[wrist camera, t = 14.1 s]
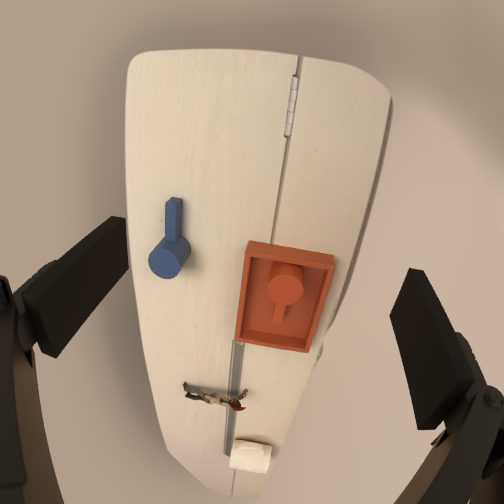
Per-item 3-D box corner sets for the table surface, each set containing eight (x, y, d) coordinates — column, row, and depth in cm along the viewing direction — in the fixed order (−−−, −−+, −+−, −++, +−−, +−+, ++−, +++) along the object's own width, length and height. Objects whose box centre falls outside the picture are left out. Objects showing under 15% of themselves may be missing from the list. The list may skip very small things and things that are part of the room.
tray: (249, 240, 46) (245, 250, 43) (333, 255, 45) (335, 266, 42) (237, 328, 54) (234, 340, 51) (308, 340, 53) (308, 353, 50)
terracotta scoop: (292, 316, 50) (291, 337, 46) (262, 311, 51) (258, 332, 46) (306, 259, 45) (306, 278, 41) (273, 253, 46) (269, 271, 41)
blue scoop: (161, 195, 45) (146, 207, 40) (193, 200, 44) (180, 213, 40) (161, 258, 50) (148, 275, 45) (190, 264, 49) (179, 282, 45)
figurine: (199, 380, 67) (259, 391, 60) (197, 397, 66) (257, 409, 59) (181, 380, 62) (245, 393, 55) (180, 398, 61) (243, 413, 54)
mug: (268, 454, 75) (264, 479, 68) (233, 448, 75) (228, 473, 68) (274, 434, 69) (271, 462, 62) (236, 428, 70) (230, 455, 63)
